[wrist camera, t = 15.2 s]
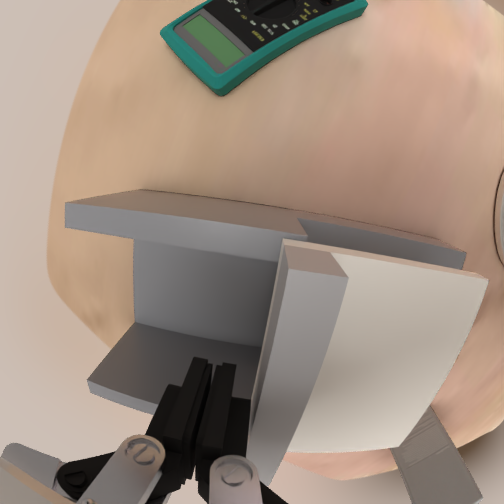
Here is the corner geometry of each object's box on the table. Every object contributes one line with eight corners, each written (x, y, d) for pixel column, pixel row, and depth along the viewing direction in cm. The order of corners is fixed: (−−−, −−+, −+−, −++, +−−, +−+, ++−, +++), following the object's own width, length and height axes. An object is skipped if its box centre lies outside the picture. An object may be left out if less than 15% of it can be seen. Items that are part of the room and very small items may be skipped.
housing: (438, 239, 19) (510, 275, 10) (394, 363, 22) (429, 430, 13) (141, 189, 19) (65, 202, 11) (139, 329, 22) (90, 392, 14)
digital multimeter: (366, 15, 14) (377, -2, 12) (220, 102, 18) (211, 90, 15) (307, -33, 13) (310, -52, 10) (165, 45, 16) (152, 30, 13)
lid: (477, 273, 10) (521, 301, 7) (394, 436, 13) (408, 475, 10) (282, 238, 10) (288, 268, 7) (242, 434, 13) (236, 482, 10)
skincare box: (381, 426, 24) (415, 536, 9) (435, 398, 23) (487, 497, 8) (391, 453, 26) (417, 542, 11) (437, 429, 25) (474, 512, 10)
